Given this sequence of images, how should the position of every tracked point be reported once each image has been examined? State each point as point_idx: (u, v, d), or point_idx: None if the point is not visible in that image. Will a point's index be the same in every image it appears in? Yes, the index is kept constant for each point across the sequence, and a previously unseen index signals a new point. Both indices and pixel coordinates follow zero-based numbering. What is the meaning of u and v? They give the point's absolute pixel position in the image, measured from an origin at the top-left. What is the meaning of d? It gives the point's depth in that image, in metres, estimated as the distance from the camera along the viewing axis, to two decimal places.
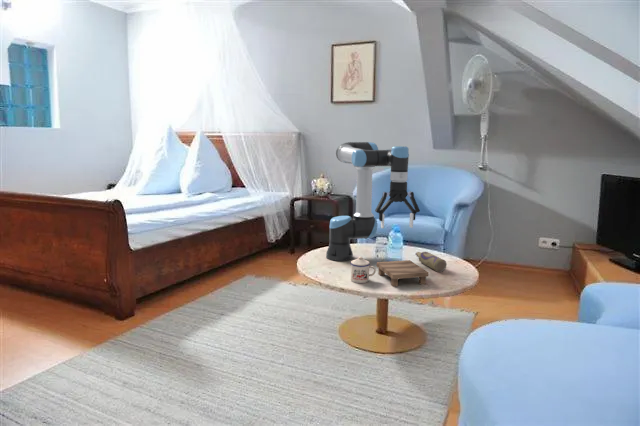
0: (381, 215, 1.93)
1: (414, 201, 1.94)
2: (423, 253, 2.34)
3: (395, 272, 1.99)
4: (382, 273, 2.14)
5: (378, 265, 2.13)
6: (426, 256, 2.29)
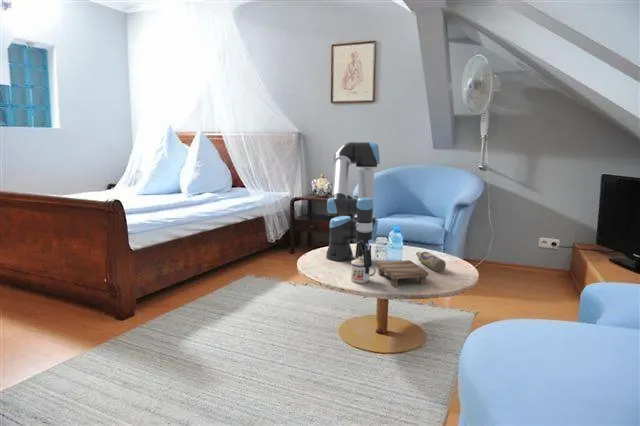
0: None
1: (365, 255, 1.98)
2: (423, 253, 2.33)
3: (395, 272, 1.99)
4: (382, 273, 2.14)
5: (378, 265, 2.13)
6: (426, 256, 2.29)
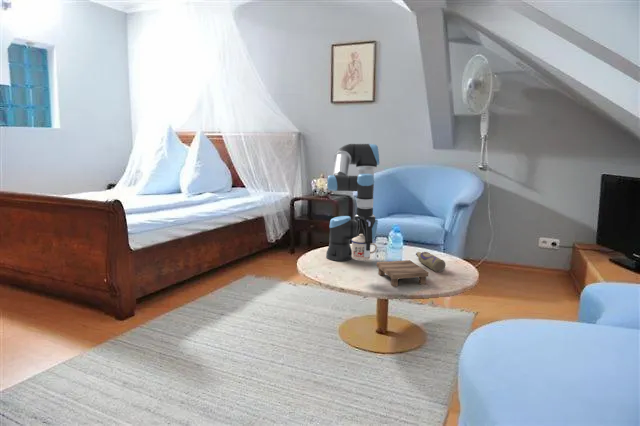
0: None
1: (366, 231, 1.96)
2: (423, 253, 2.33)
3: (395, 272, 1.99)
4: (382, 273, 2.14)
5: (378, 265, 2.13)
6: (425, 256, 2.29)
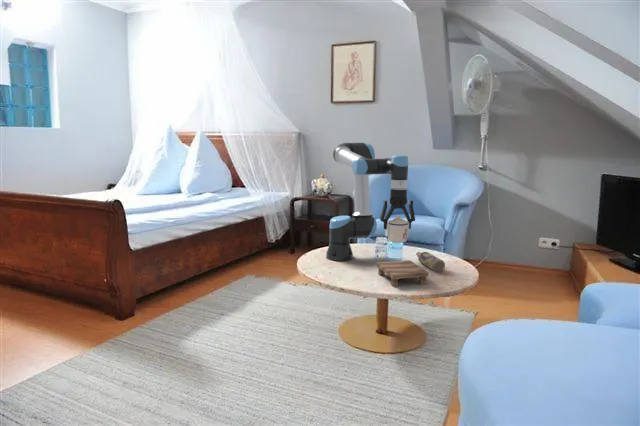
0: (385, 224, 2.02)
1: (412, 210, 2.02)
2: (423, 253, 2.33)
3: (395, 272, 1.99)
4: (382, 273, 2.14)
5: (378, 265, 2.13)
6: (425, 256, 2.29)
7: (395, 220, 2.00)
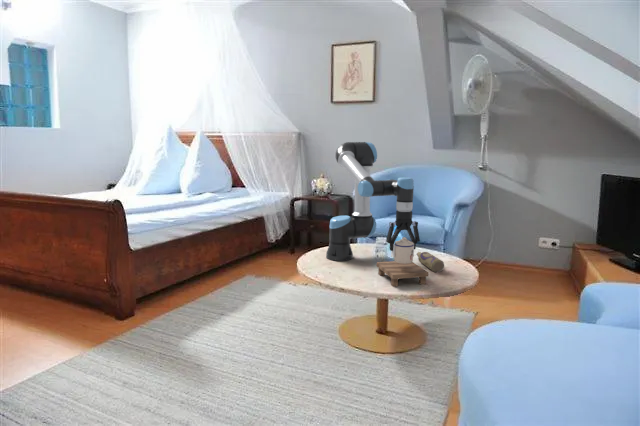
0: (392, 245, 2.04)
1: (417, 231, 2.05)
2: (423, 253, 2.33)
3: (395, 272, 1.99)
4: (382, 273, 2.14)
5: (378, 265, 2.13)
6: (425, 256, 2.29)
7: (402, 242, 2.02)
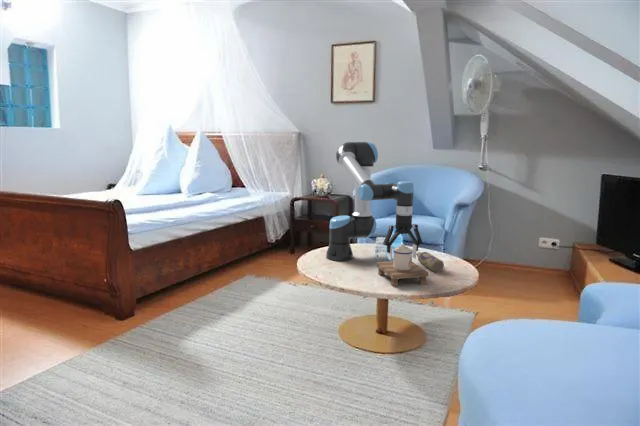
0: (389, 247, 2.04)
1: (418, 233, 2.06)
2: (422, 253, 2.33)
3: (395, 272, 1.99)
4: (382, 273, 2.14)
5: (378, 265, 2.13)
6: (425, 256, 2.29)
7: (400, 249, 2.03)
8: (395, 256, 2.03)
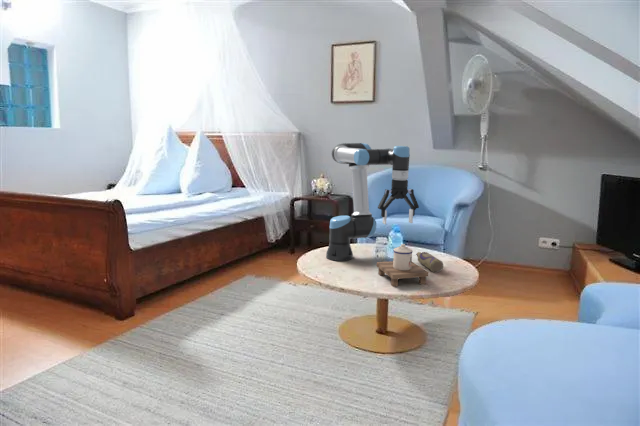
0: (383, 212, 2.03)
1: (414, 198, 2.05)
2: (422, 253, 2.33)
3: (395, 272, 1.99)
4: (382, 273, 2.14)
5: (378, 265, 2.13)
6: (424, 256, 2.29)
7: (400, 248, 2.03)
8: (395, 256, 2.03)
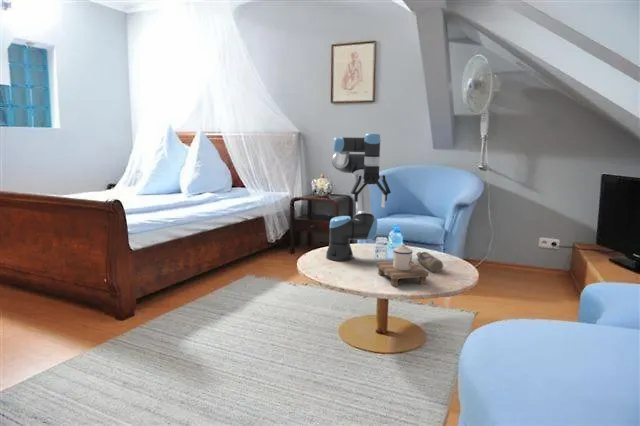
0: (356, 196, 2.12)
1: (386, 183, 2.14)
2: (422, 253, 2.33)
3: (395, 272, 1.99)
4: (382, 273, 2.14)
5: (378, 265, 2.13)
6: (424, 256, 2.29)
7: (401, 249, 2.03)
8: (395, 256, 2.03)
